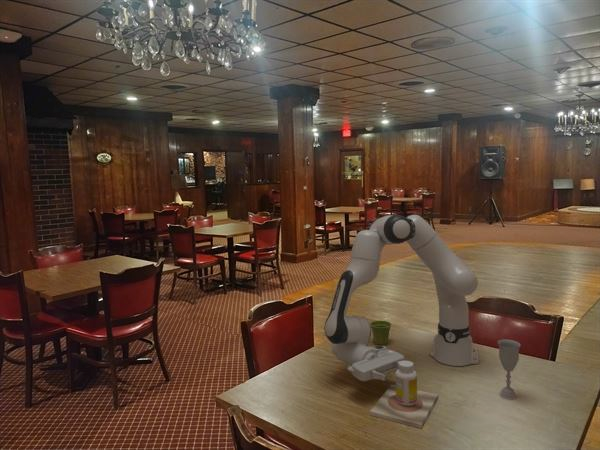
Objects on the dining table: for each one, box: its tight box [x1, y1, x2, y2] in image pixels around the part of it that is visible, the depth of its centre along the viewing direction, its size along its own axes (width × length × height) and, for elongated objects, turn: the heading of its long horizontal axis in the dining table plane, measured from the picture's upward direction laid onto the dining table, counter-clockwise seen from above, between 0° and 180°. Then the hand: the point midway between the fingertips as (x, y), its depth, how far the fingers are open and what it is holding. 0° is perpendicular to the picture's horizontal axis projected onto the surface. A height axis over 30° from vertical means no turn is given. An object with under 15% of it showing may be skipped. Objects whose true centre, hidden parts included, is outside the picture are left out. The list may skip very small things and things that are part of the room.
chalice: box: [497, 339, 521, 401], centre depth 144 cm, size 7×7×18 cm
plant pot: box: [369, 320, 392, 346], centre depth 194 cm, size 9×9×9 cm
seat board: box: [369, 384, 439, 429], centre depth 140 cm, size 20×16×1 cm
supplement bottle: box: [395, 360, 418, 406], centre depth 140 cm, size 7×7×13 cm
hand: (395, 373), depth 142 cm, fingers open, 8 cm apart
